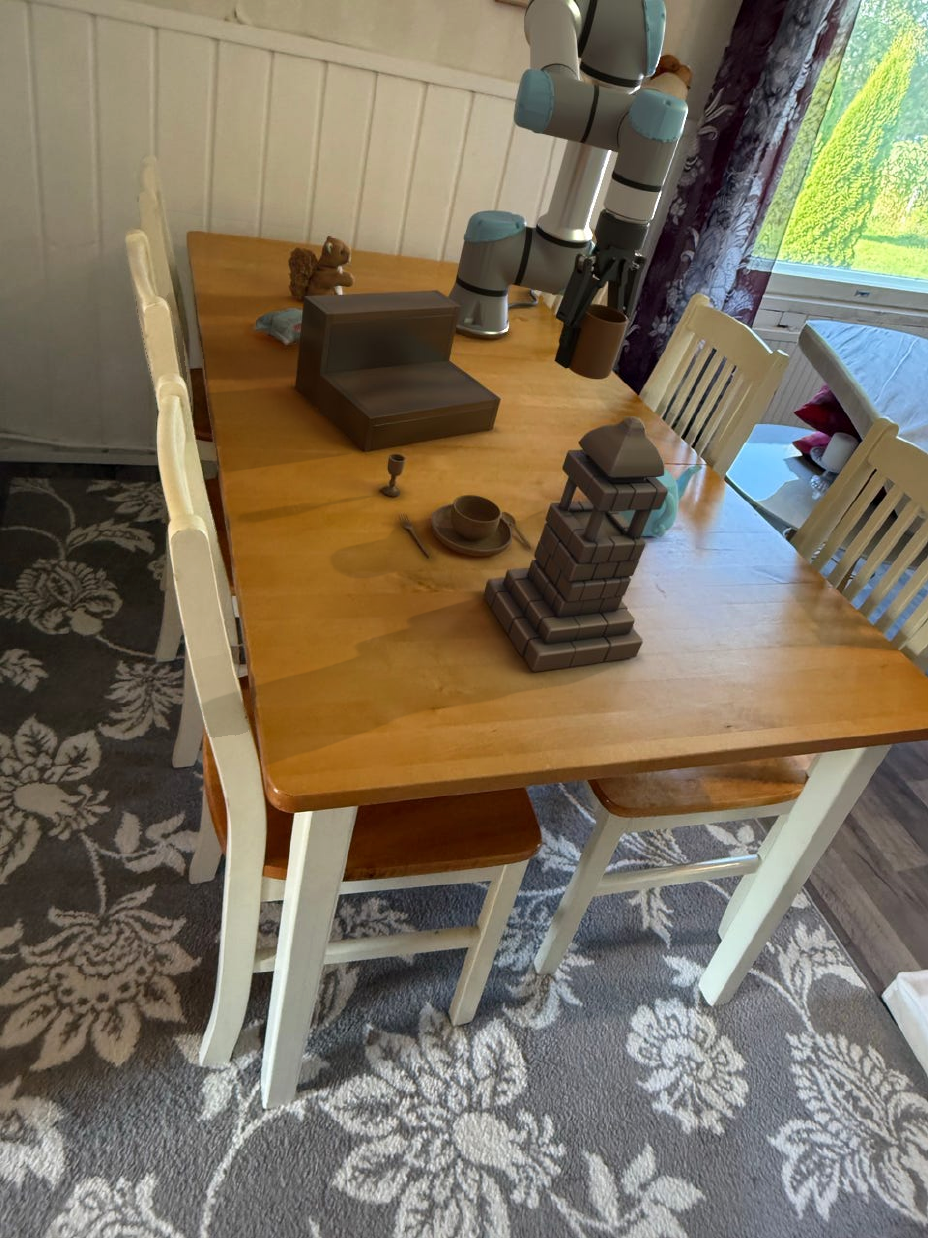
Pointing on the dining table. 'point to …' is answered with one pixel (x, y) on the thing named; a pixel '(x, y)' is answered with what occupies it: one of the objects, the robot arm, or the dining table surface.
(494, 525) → the place setting
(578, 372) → the mug
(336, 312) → the stepped stand
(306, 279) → the stuffed squirrel
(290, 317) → the packaged food
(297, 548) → the dining table surface
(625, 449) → the miniature tower
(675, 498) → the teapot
